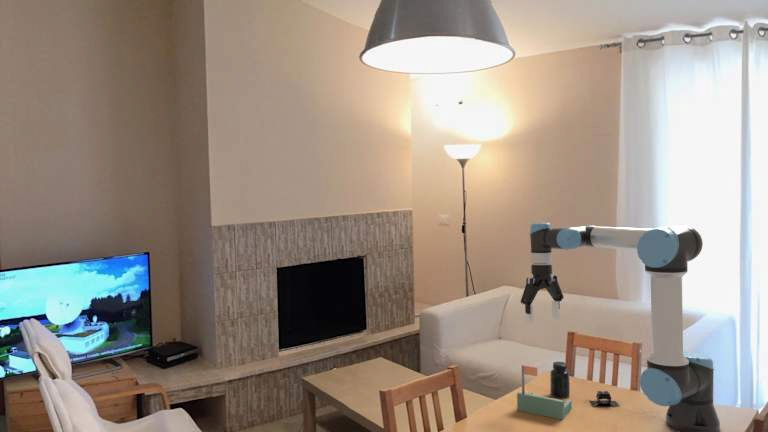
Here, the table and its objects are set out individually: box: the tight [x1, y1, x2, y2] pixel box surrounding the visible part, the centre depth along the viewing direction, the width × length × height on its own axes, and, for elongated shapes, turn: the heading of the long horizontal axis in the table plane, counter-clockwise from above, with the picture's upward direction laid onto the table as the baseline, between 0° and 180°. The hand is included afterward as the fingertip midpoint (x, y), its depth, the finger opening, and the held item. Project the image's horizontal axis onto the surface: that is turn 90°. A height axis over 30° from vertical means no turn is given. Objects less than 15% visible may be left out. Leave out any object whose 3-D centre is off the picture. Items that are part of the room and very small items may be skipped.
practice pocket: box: [516, 364, 573, 421], centre depth 198 cm, size 10×16×16 cm, turn 55°
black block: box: [588, 390, 621, 408], centre depth 202 cm, size 12×7×5 cm, turn 83°
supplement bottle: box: [549, 361, 571, 399], centre depth 211 cm, size 7×7×12 cm
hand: (543, 320), depth 214 cm, fingers open, 13 cm apart
